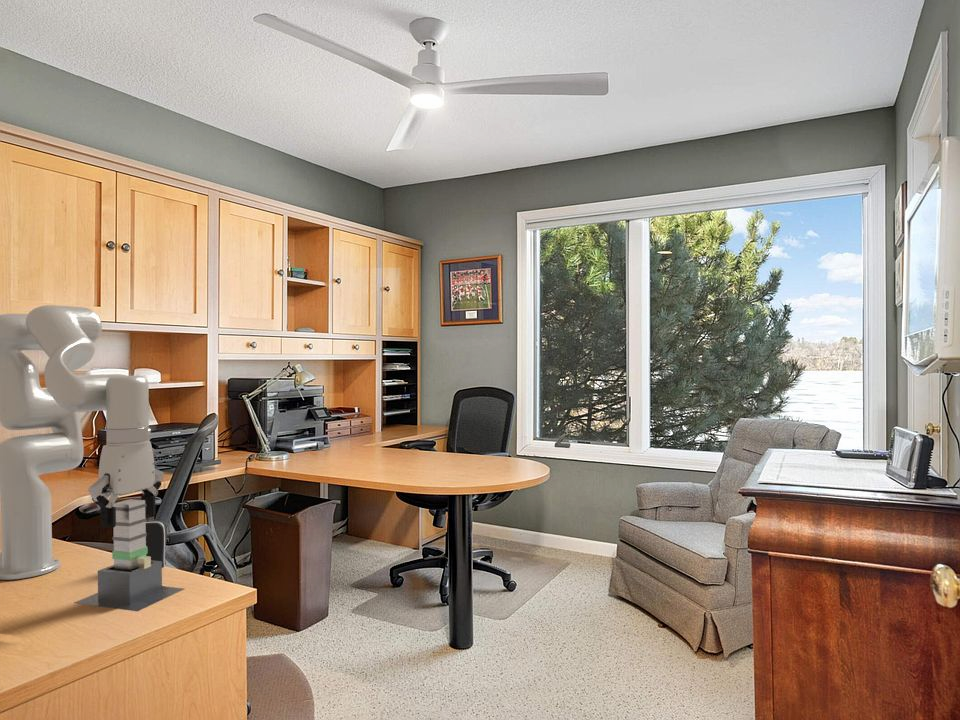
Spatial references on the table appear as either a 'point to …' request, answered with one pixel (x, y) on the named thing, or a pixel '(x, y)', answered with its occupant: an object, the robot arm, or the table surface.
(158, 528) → the battery charger
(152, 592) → the stand
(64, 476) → the table surface
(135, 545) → the column
